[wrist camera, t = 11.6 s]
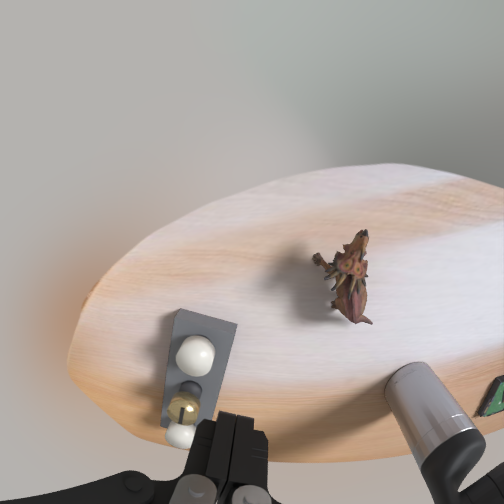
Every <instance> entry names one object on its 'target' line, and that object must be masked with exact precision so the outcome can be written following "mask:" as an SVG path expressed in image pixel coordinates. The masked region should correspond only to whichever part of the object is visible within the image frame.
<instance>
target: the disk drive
mask: <svg viewBox="0 0 504 504" xmlns="http://www.w3.org/2000/svg"><path fill="white" fill-rule="evenodd" d="M501 411H504V375H502V376H499V377H496V378H495V380H494V383H493V385H492V387H491V389H490V391H489V393H488V395H487V397H486V398H485V400H484V402H483V404H482V406H481V408H480V409H479V411H478V414H479V415H480V417H481V416H484V417H485V416H490V415H492V414H496V413H498V412H501Z"/></svg>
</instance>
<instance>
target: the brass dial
mask: <svg viewBox="0 0 504 504" xmlns="http://www.w3.org/2000/svg"><path fill="white" fill-rule="evenodd" d="M200 407H201V403H200V400H199V399H198V398H197V397H196V396H195V395H193V394H191V393H189V392H177V393H175V394H174V396H173V398H172V400H171V402H170V404H169V407H168V409H167V415H168V417H169V418H170V419H171V420H172V421H173V422H175V423H177V424H180V425H184V426H189V425H192V424H194V423H195V422H196V420H197V417H198V413H199V410H200Z"/></svg>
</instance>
